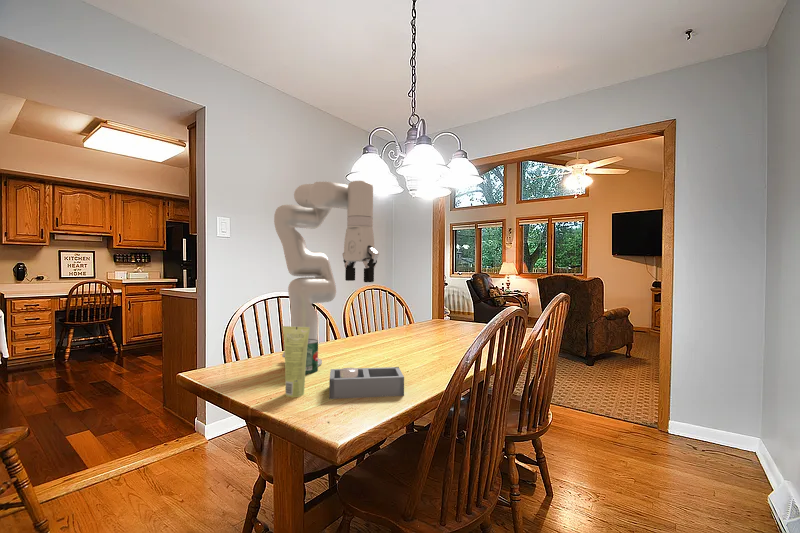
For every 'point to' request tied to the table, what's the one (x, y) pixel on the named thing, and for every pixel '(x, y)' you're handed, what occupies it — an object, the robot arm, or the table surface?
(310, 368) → the canned tomato
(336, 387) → the rack
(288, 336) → the tube
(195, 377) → the table surface
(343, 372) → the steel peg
